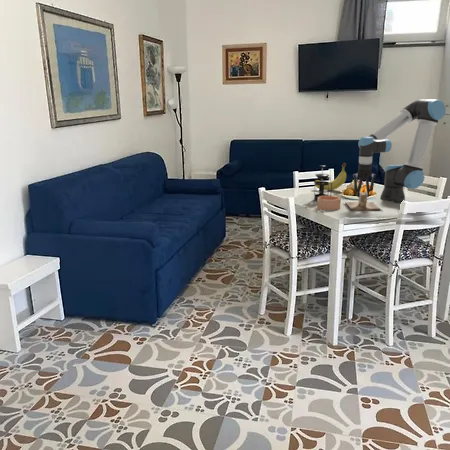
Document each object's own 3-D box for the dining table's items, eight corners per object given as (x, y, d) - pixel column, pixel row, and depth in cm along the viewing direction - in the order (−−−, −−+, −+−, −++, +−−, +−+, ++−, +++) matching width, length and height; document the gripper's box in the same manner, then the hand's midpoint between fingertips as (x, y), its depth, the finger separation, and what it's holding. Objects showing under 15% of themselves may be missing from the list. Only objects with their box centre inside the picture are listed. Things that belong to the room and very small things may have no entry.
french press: (313, 201, 290) (315, 166, 284) (312, 198, 299) (313, 164, 293) (331, 201, 289) (333, 166, 282) (329, 198, 298) (331, 164, 291)
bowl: (337, 205, 277) (338, 195, 276) (341, 210, 265) (341, 200, 263) (316, 205, 278) (316, 195, 277) (319, 210, 266) (319, 200, 264)
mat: (374, 204, 279) (374, 203, 279) (383, 212, 260) (383, 211, 259) (342, 204, 280) (342, 203, 280) (348, 212, 261) (348, 211, 261)
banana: (313, 190, 325) (314, 163, 320) (313, 189, 330) (314, 162, 325) (345, 191, 320) (347, 163, 315) (345, 189, 326) (347, 162, 320)
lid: (373, 204, 277) (374, 191, 275) (380, 210, 261) (381, 196, 259) (345, 203, 279) (346, 191, 276) (350, 210, 262) (351, 196, 260)
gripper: (377, 162, 266) (374, 200, 272) (350, 162, 267) (347, 200, 273) (380, 164, 258) (377, 203, 265) (352, 164, 260) (350, 203, 266)
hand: (362, 202), depth 269 cm, fingers closed on lid, 3 cm apart
